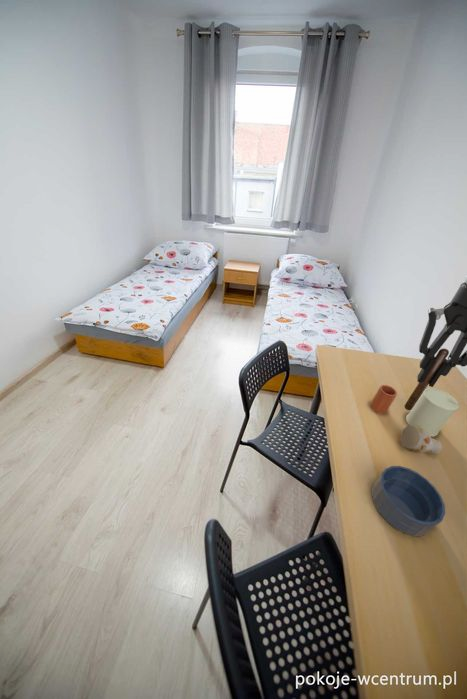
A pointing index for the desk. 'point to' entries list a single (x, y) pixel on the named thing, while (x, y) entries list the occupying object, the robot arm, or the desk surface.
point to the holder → (383, 399)
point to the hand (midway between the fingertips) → (424, 381)
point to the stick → (426, 379)
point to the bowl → (408, 501)
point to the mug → (419, 440)
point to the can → (432, 411)
